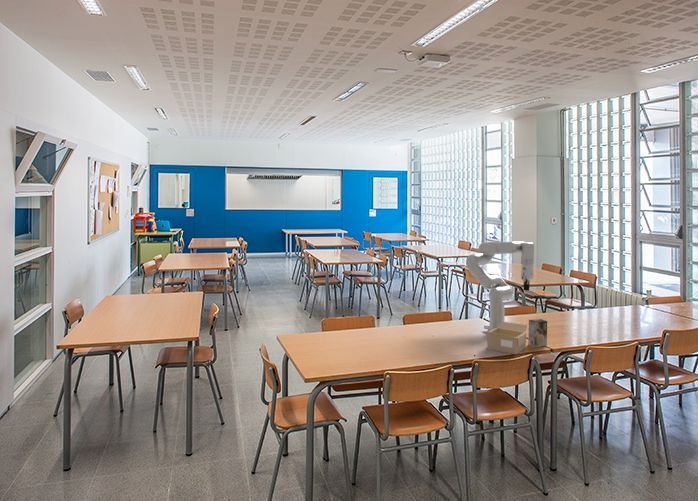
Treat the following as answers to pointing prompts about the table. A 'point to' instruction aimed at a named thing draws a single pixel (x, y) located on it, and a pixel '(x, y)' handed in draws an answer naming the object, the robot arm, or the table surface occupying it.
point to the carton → (506, 341)
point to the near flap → (500, 334)
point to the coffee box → (537, 333)
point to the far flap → (513, 326)
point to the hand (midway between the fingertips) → (526, 290)
